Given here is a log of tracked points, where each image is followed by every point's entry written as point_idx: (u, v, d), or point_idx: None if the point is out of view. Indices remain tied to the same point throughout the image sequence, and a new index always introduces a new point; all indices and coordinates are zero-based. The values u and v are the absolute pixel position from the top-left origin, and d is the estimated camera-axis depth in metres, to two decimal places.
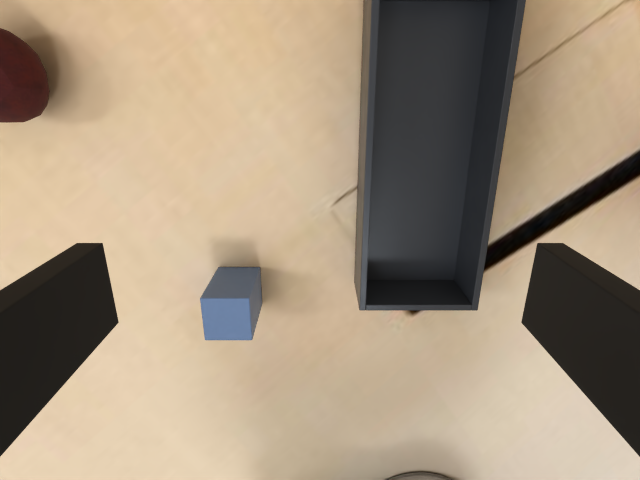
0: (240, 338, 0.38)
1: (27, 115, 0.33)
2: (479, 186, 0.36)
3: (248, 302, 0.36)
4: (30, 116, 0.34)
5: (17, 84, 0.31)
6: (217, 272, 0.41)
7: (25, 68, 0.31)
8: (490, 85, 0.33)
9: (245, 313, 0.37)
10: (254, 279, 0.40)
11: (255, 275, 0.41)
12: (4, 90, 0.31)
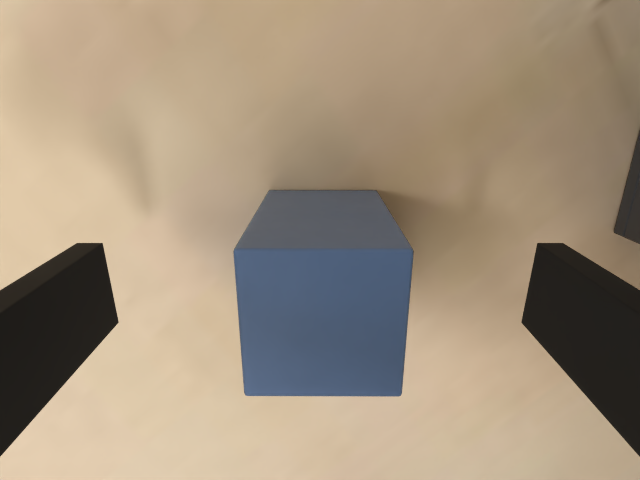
0: (363, 391, 0.11)
1: None
2: None
3: (409, 265, 0.10)
4: None
5: None
6: (270, 197, 0.15)
7: None
8: None
9: (392, 306, 0.10)
10: (385, 209, 0.13)
11: (380, 202, 0.14)
12: None
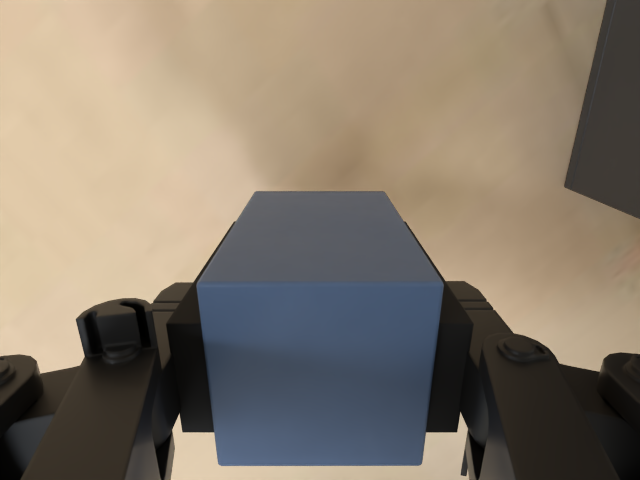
0: (373, 460, 0.09)
1: None
2: None
3: (437, 303, 0.07)
4: None
5: None
6: (255, 201, 0.12)
7: None
8: None
9: (413, 356, 0.08)
10: (397, 217, 0.11)
11: (390, 208, 0.12)
12: None
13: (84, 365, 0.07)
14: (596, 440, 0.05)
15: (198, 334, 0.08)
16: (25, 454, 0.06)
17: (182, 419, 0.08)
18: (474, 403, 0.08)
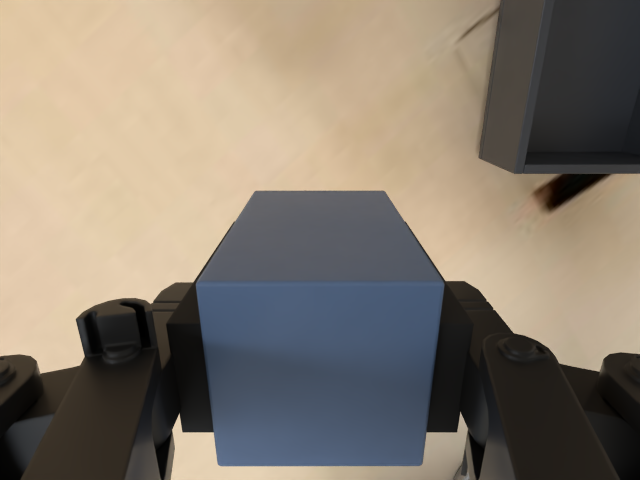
0: (373, 460, 0.09)
1: None
2: None
3: (438, 303, 0.07)
4: None
5: None
6: (255, 201, 0.12)
7: None
8: None
9: (414, 356, 0.08)
10: (398, 217, 0.11)
11: (390, 207, 0.12)
12: None
13: (84, 365, 0.07)
14: (596, 440, 0.05)
15: (198, 334, 0.08)
16: (25, 454, 0.06)
17: (182, 419, 0.08)
18: (474, 403, 0.08)
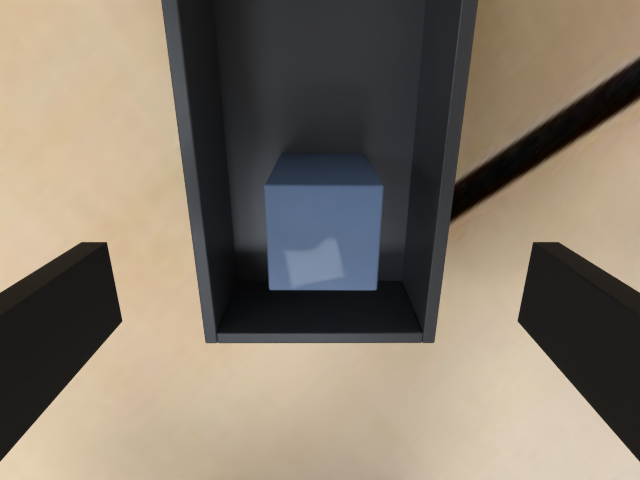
0: (350, 286, 0.16)
1: None
2: (435, 92, 0.17)
3: (380, 196, 0.15)
4: None
5: None
6: (283, 157, 0.20)
7: None
8: None
9: (370, 224, 0.15)
10: (368, 164, 0.18)
11: (365, 160, 0.19)
12: None
13: None
14: None
15: None
16: None
17: None
18: None
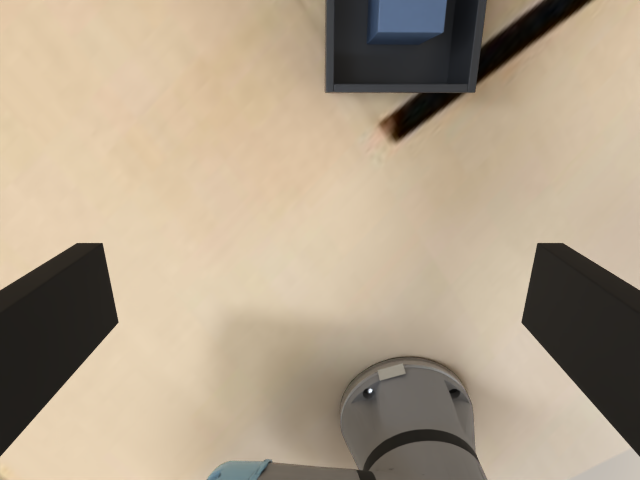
0: (428, 28, 0.27)
1: None
2: None
3: None
4: None
5: None
6: None
7: None
8: None
9: None
10: None
11: None
12: None
13: None
14: None
15: None
16: None
17: None
18: None
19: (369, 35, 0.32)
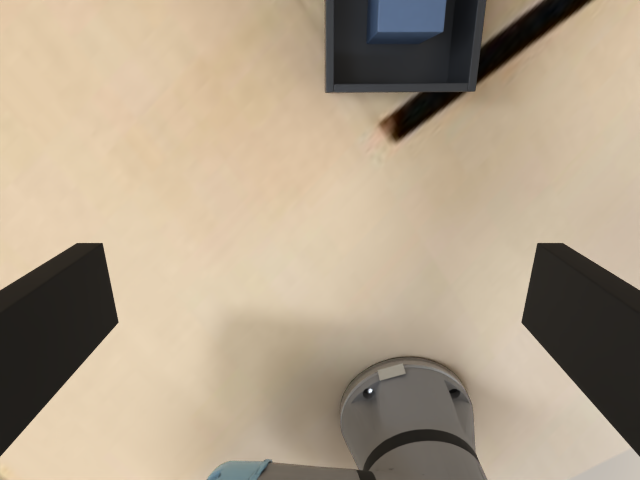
0: (427, 28, 0.27)
1: None
2: None
3: None
4: None
5: None
6: None
7: None
8: None
9: None
10: None
11: None
12: None
13: None
14: None
15: None
16: None
17: None
18: None
19: (369, 35, 0.31)
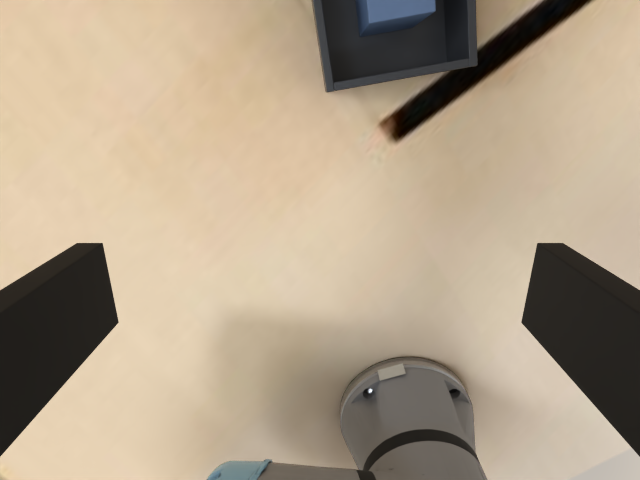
0: (419, 10, 0.26)
1: None
2: None
3: None
4: None
5: None
6: None
7: None
8: None
9: None
10: None
11: None
12: None
13: None
14: None
15: None
16: None
17: None
18: None
19: (361, 27, 0.31)
